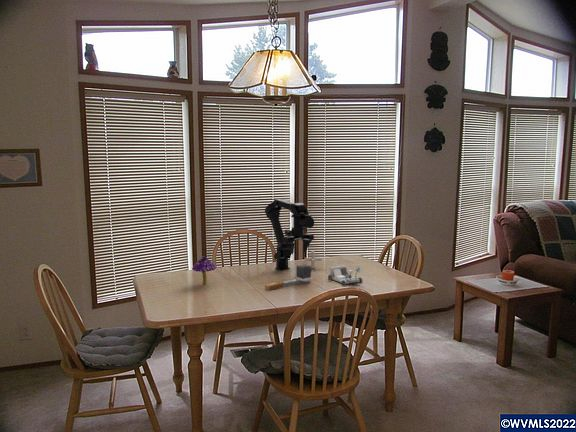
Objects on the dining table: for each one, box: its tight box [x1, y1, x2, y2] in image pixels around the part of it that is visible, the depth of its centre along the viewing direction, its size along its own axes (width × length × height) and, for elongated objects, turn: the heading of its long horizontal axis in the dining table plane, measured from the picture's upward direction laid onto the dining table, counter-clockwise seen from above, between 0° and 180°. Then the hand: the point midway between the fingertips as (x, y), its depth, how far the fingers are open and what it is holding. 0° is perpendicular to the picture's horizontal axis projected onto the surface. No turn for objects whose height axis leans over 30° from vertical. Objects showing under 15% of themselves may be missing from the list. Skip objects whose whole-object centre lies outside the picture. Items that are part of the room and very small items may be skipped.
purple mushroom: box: [191, 256, 217, 286], centre depth 237 cm, size 12×12×15 cm
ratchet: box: [264, 276, 311, 291], centre depth 236 cm, size 28×7×6 cm, turn 128°
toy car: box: [327, 264, 363, 287], centre depth 242 cm, size 18×10×12 cm
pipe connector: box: [303, 250, 322, 269], centre depth 272 cm, size 10×10×10 cm
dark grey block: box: [295, 263, 312, 279], centre depth 242 cm, size 5×5×6 cm
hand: (298, 253), depth 257 cm, fingers open, 9 cm apart
